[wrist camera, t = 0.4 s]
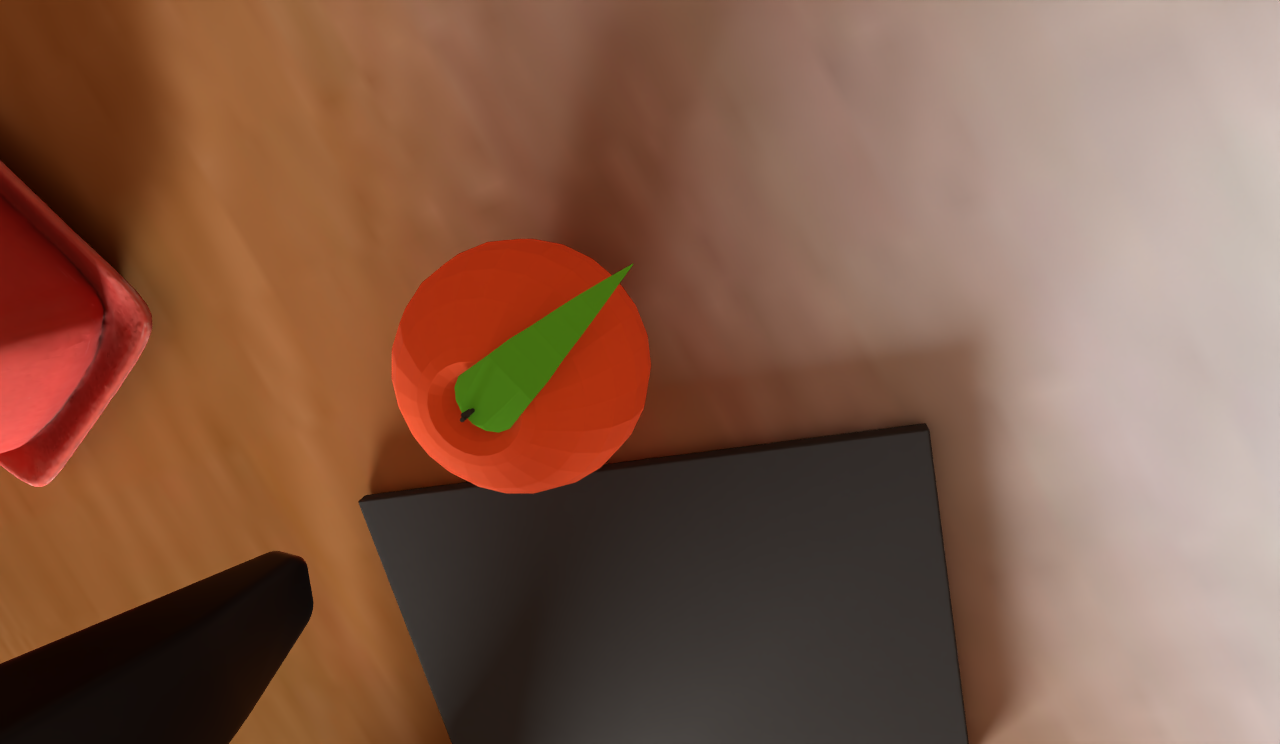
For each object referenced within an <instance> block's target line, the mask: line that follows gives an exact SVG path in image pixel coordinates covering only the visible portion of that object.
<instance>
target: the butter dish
mask: <svg viewBox="0 0 1280 744" xmlns="http://www.w3.org/2000/svg"><path fill="white" fill-rule="evenodd" d="M151 330H152V314H151V312H150V310H149V308H148V306H147V304H146V303H145V301H144V300H143V299H142V297H141V296H140V295H139V294H138V293H137V291H136V290H135V289H134V288H133V287H132V286H131V285H130V284H129V283H128V282H127V281H126V280H125V279H124V278H123V277H122V276H121V275H120V274H119V273H118V272H117V271H116V270H115V269H114V268H113V267H112V266H111V265H110V264H109V263H108V262H107V261H106V260H104V259H103V258H102V257H101V256H100V255H99V254H98V253H97V252H96V251H95V250H94V249H93V248H91V247H90V246H89V245H88V244H87V243H86V242H85V241H84V240H83V239H82V238H81V237H80V236H79V235H78V234H77V233H76V232H74V231H73V230H72V229H71V228H70V227H69V226H68V225H67V224H66V223H65V222H64V221H63V220H62V219H61V218H60V217H59V216H58V215H57V214H56V213H54V212H53V211H52V210H51V208H49V207H48V206H47V204H46V203H45V202H43V201H42V200H41V199H40V198H39V197H38V196H37V195H36V194H35V193H34V192H33V191H32V190H31V189H30V188H29V187H28V186H27V185H26V184H25V183H24V182H23V181H22V180H21V179H19V178H18V177H17V176H16V175H15V174H14V173H13V172H12V171H11V170H10V169H9V168H8V167H7V166H6V165H5V164H4V163H3V162H2V161H1V160H0V465H1V466H2V467H4V468H5V469H6V470H7V471H9V472H10V473H12V474H13V475H15V476H16V477H17V478H18V479H20V480H22V481H23V482H25V483H27V484H29V485H33V486H35V487H42V486H44V485H47V484H49V483H50V482H51V481H52V480H53V479H54V478H55V477H56V475H57V474H59V473H60V470H62V469H63V468H64V467H65V464H66V463H67V461H68V460H69V458H70V457H71V456H72V454H73V453H74V452H75V450H76V449H77V448H78V446H79V445H80V443H81V442H82V440H83V439H84V438H85V436H86V435H87V434H88V432H89V430H90V429H91V428H92V426H93V425H94V424H95V422H96V421H97V419H98V418H99V417H100V415H101V414H102V412H103V411H104V409H105V408H106V406H107V405H108V404H109V402H110V400H111V399H112V397H113V396H114V395H115V394H116V392H117V391H118V389H119V388H120V387H121V385H122V384H123V382H124V380H125V379H126V377H127V375H128V374H129V373H130V371H131V370H132V368H133V367H134V365H135V364H136V362H137V361H138V359H139V356H140V355H141V353H142V352H143V350H144V348H145V346H146V344H147V342H148V340H149V337H150V334H151Z"/></svg>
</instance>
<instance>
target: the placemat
mask: <svg viewBox="0 0 1280 744" xmlns="http://www.w3.org/2000/svg"><path fill="white" fill-rule="evenodd" d="M359 505H360V507H361V510H362V513H363V515H364V518H365V520H366V523H367V526H368V528H369V531H370V533H371V536H372V538H373V541H374V544H375V546H376V549H377V551H378V554H379V556H380V559H381V562H382V564H383V567H384V569H385V572H386V574H387V577H388V580H389V582H390V585H391V587H392V590H393V593H394V595H395V598H396V600H397V603H398V605H399V608H400V611H401V613H402V616H403V618H404V621H405V623H406V626H407V629H408V631H409V634H410V636H411V639H412V642H413V644H414V647H415V649H416V652H417V654H418V657H419V660H420V662H421V665H422V667H423V670H424V672H425V675H426V678H427V680H428V683H429V685H430V688H431V691H432V693H433V696H434V698H435V701H436V703H437V706H438V709H439V711H440V714H441V716H442V719H443V721H444V724H445V727H446V729H447V732H448V734H449V737H450V739H451V742H452V744H969V743H968V735H967V727H966V719H965V711H964V703H963V695H962V687H961V679H960V671H959V663H958V655H957V647H956V639H955V631H954V623H953V615H952V607H951V599H950V591H949V583H948V575H947V567H946V559H945V551H944V543H943V535H942V527H941V519H940V512H939V504H938V496H937V488H936V480H935V472H934V464H933V456H932V448H931V440H930V432H929V428H928V426H927V425H926V424H917V425H909V426H901V427H894V428H886V429H878V430H870V431H862V432H855V433H847V434H839V435H831V436H824V437H816V438H808V439H800V440H792V441H785V442H777V443H769V444H761V445H754V446H746V447H738V448H730V449H722V450H715V451H707V452H699V453H691V454H684V455H676V456H668V457H660V458H652V459H645V460H637V461H629V462H621V463H613V464H606V465H602V466H601V467H600V468H599V469H597V470H596V471H594V472H592V473H591V474H589V475H587V476H586V477H584V478H582V479H581V480H579V481H577V482H575V483H572V484H568V485H564V486H560V487H557V488H553V489H549V490H545V491H541V492H538V493H502V492H498V491H494V490H490V489H486V488H482V487H478V486H476V485H474V484H472V483H470V482H466V483H458V484H450V485H442V486H435V487H427V488H419V489H411V490H403V491H396V492H388V493H380V494H372V495H365V496H364V497H363V498H362V499H360V500H359Z"/></svg>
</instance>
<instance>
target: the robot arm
mask: <svg viewBox="0 0 1280 744" xmlns="http://www.w3.org/2000/svg"><path fill="white" fill-rule="evenodd" d="M312 610H313V597H312V591H311V585H310V579H309V574H308V568H307V564H306V562H305V561H304V559H303V558H301V557H299V556H296V555H292V554H288V553H284V552H280V551H272V552H269V553H266V554H263V555H261V556H259V557H256V558H254V559H251V560H249V561H247V562H244V563H242V564H239V565H237V566H235V567H232V568H230V569H227V570H225V571H223V572H220V573H218V574H215V575H213V576H211V577H208V578H206V579H203V580H201V581H198V582H196V583H194V584H191V585H189V586H186V587H184V588H182V589H179V590H177V591H174V592H172V593H170V594H167V595H165V596H162V597H160V598H158V599H155V600H153V601H150V602H148V603H146V604H143V605H141V606H138V607H136V608H134V609H131V610H129V611H126V612H124V613H122V614H119V615H117V616H114V617H112V618H110V619H107V620H105V621H102V622H100V623H98V624H95V625H93V626H90V627H88V628H86V629H83V630H81V631H78V632H76V633H74V634H71V635H69V636H66V637H64V638H62V639H59V640H57V641H54V642H52V643H49V644H47V645H45V646H42V647H40V648H37V649H35V650H33V651H30V652H28V653H25V654H23V655H21V656H18V657H16V658H13V659H11V660H9V661H6V662H4V663H1V664H0V744H229V743H230V741H231V740H232V738H233V737H234V736H235V734H236V733H237V732H238V730H239V729H240V727H241V726H242V724H243V723H244V721H245V720H246V719H247V717H248V716H249V714H250V713H251V711H252V710H253V708H254V706H255V705H256V703H257V702H258V700H259V699H260V697H261V695H262V694H263V692H264V691H265V689H266V688H267V686H268V684H269V683H270V681H271V680H272V678H273V677H274V675H275V673H276V672H277V670H278V669H279V667H280V666H281V664H282V662H283V661H284V659H285V658H286V656H287V655H288V653H289V651H290V650H291V648H292V647H293V645H294V644H295V642H296V641H297V639H298V637H299V636H300V634H301V633H302V631H303V630H304V628H305V626H306V625H307V623H308V621H309V619H310V617H311V614H312Z"/></svg>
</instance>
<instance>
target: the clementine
mask: <svg viewBox="0 0 1280 744" xmlns="http://www.w3.org/2000/svg"><path fill="white" fill-rule="evenodd" d="M633 264H634V263H633ZM633 264H632V265H633ZM632 265H630V266H628V267H626V268H624V269H623V270H621V271H619V272H617V273H615V274H614V275H611V274H610V273H609V272H608V271H606V270H605V269H604V268H603V267H602V266H600V265H599V264H598V263H597V262H596V261H594V260H593V259H592V258H590V257H588V256H586V255H584V254H582V253H580V252H578V251H575V250H573V249H571V248H569V247H567V246H565V245H563V244H557V243H552V242H547V241H541V240H536V239H514V240H503V241H492V242H486V243H484V244H481V245H479V246H476V247H474V248H472V249H469V250H467V251H464V252H462V253H459V254H458V255H456V256H455V257H453V258H452V259H451V260H449V261H448V262H446V263H445V264H444V265H443V266H441V267H440V268H439V269H438V270H437V271H435V272H434V273H433V274H432V275H431V276H429V277H428V278H427V279H426V280H424V281H423V282H422V283H421V285H420V286H419V288H418V289H417V291H416V293H415V294H414V296H413V297H412V299H411V300H410V302H409V303H408V305H407V306H406V308H405V311H404V313H403V316H402V318H401V321H400V324H399V327H398V330H397V334H396V337H395V341H394V344H393V348H392V382H393V386H394V390H395V394H396V399H397V403H398V406H399V409H400V411H401V413H402V415H403V417H404V419H405V421H406V423H407V425H408V427H409V429H410V431H411V433H412V435H413V436H414V438H415V439H416V440H417V441H418V443H419V444H420V445H421V446H422V448H423V449H424V450H425V451H426V453H427V454H428V455H429V456H430V457H432V458H433V459H434V460H435V461H436V462H438V463H439V464H440V465H441V466H443V467H444V468H445V469H446V470H448V471H449V472H451V473H452V474H454V475H456V476H458V477H460V478H462V479H464V480H466V481H468V482H470V483H472V484H474V485H476V486H478V487H482V488H486V489H490V490H494V491H498V492H502V493H538V492H541V491H545V490H549V489H553V488H557V487H560V486H564V485H568V484H572V483H575V482H577V481H579V480H581V479H582V478H584V477H586V476H587V475H589V474H591V473H592V472H594V471H596V470H597V469H599V468H600V467H601V466H602V465H603V464H604V463H605V462H606V461H607V460H608V459H609V458H610V457H611V456H612V455H613V454H614V453H615V452H616V451H617V450H618V449H619V448H620V446H621V445H622V444H623V443H624V442H625V441H626V440H627V439H628V438H629V437H630V435H631V434H632V432H633V430H634V428H635V426H636V423H637V421H638V419H639V417H640V415H641V413H642V411H643V409H644V405H645V400H646V395H647V388H648V382H649V376H650V369H651V361H650V352H649V343H648V335H647V333H646V330H645V327H644V325H643V322H642V320H641V317H640V315H639V312H638V310H637V307H636V305H635V304H634V302H633V301H632V300H631V298H630V297H629V295H628V294H627V293H626V291H625V290H624V288H623V287H622V286H621V284H620V282H621V281H622V279H623V278H624V277H625V275H626V274H627V272H628V271H629V270H630V268H631V267H632Z"/></svg>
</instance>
